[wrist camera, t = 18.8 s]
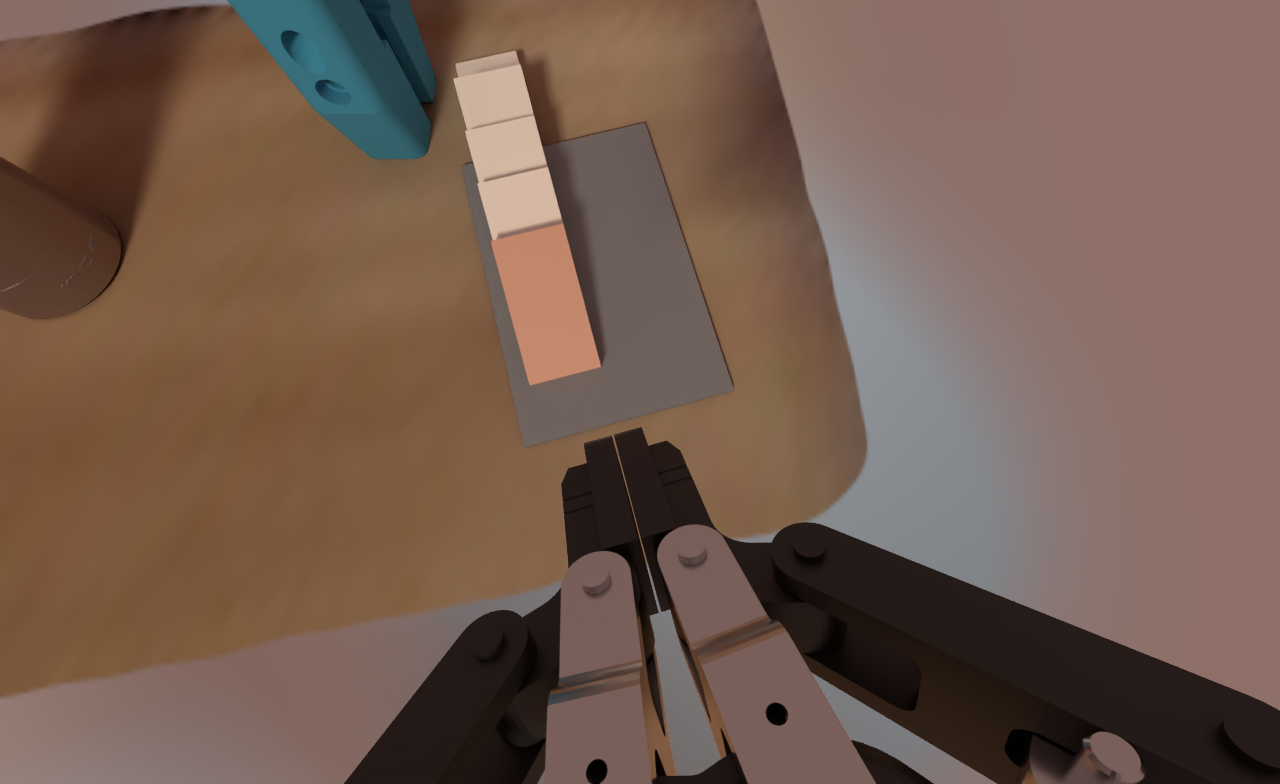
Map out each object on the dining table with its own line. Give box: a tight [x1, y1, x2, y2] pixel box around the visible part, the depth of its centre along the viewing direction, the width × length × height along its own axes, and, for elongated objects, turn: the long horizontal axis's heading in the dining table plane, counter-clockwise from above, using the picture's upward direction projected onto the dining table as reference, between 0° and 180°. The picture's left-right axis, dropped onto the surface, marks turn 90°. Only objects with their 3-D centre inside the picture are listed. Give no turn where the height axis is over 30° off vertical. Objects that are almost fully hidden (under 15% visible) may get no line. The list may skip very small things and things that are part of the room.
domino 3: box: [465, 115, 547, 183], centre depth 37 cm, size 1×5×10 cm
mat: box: [461, 123, 734, 447], centre depth 38 cm, size 23×15×1 cm, turn 16°
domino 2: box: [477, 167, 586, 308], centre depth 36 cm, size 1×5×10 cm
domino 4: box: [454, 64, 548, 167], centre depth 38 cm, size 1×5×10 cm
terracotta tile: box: [491, 224, 601, 385], centre depth 35 cm, size 1×5×10 cm
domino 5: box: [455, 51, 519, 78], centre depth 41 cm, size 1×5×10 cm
